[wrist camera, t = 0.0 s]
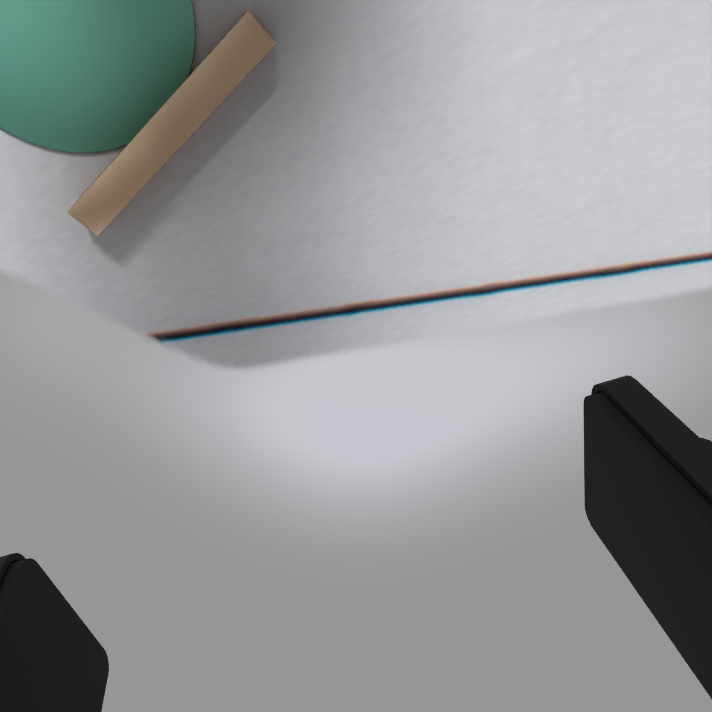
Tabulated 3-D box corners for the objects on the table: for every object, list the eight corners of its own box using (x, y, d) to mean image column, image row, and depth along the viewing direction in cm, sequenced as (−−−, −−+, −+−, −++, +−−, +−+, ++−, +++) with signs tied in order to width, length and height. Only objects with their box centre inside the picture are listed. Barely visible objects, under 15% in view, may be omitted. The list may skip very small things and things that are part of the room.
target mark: (-155, 2, 30) (-158, 1, 29) (14, -241, 26) (13, -243, 26) (89, 201, 36) (88, 202, 36) (248, 26, 33) (248, 26, 33)
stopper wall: (77, 200, 36) (67, 212, 34) (247, 10, 33) (248, 10, 31) (105, 223, 37) (97, 236, 35) (273, 40, 34) (276, 43, 32)
